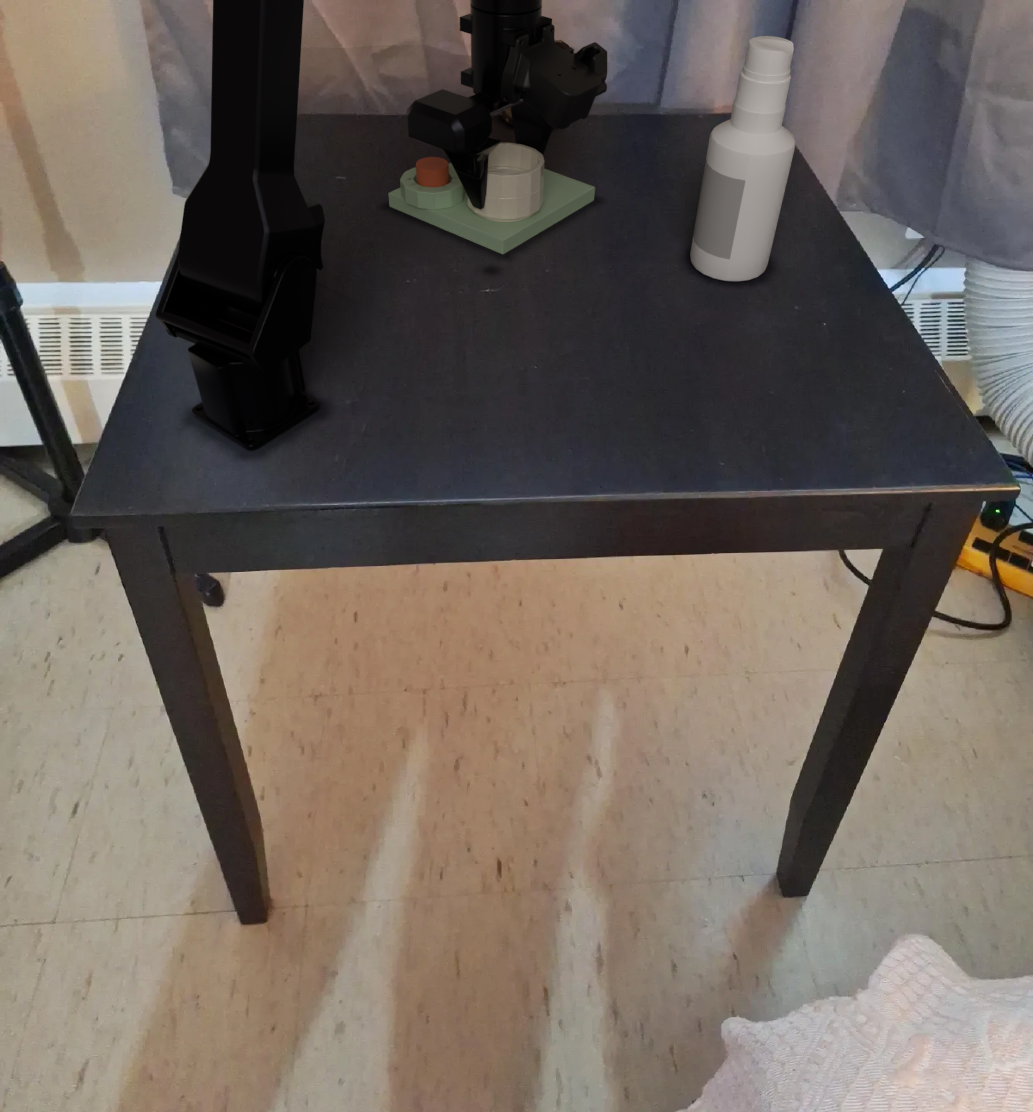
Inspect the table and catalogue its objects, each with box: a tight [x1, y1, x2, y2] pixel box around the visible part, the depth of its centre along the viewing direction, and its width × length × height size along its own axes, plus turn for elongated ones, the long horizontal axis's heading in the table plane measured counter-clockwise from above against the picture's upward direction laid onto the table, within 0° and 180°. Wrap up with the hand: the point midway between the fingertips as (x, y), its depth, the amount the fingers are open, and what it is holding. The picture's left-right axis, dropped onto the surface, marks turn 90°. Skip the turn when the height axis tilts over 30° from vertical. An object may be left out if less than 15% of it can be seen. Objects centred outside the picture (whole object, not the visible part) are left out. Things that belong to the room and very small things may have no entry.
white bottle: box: [689, 35, 796, 282], centre depth 77 cm, size 7×7×18 cm
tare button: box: [415, 156, 449, 187], centre depth 87 cm, size 3×3×2 cm
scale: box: [388, 162, 596, 255], centre depth 89 cm, size 14×14×3 cm
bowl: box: [467, 142, 545, 222], centre depth 85 cm, size 7×7×4 cm
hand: (503, 194), depth 86 cm, fingers closed on bowl, 7 cm apart
